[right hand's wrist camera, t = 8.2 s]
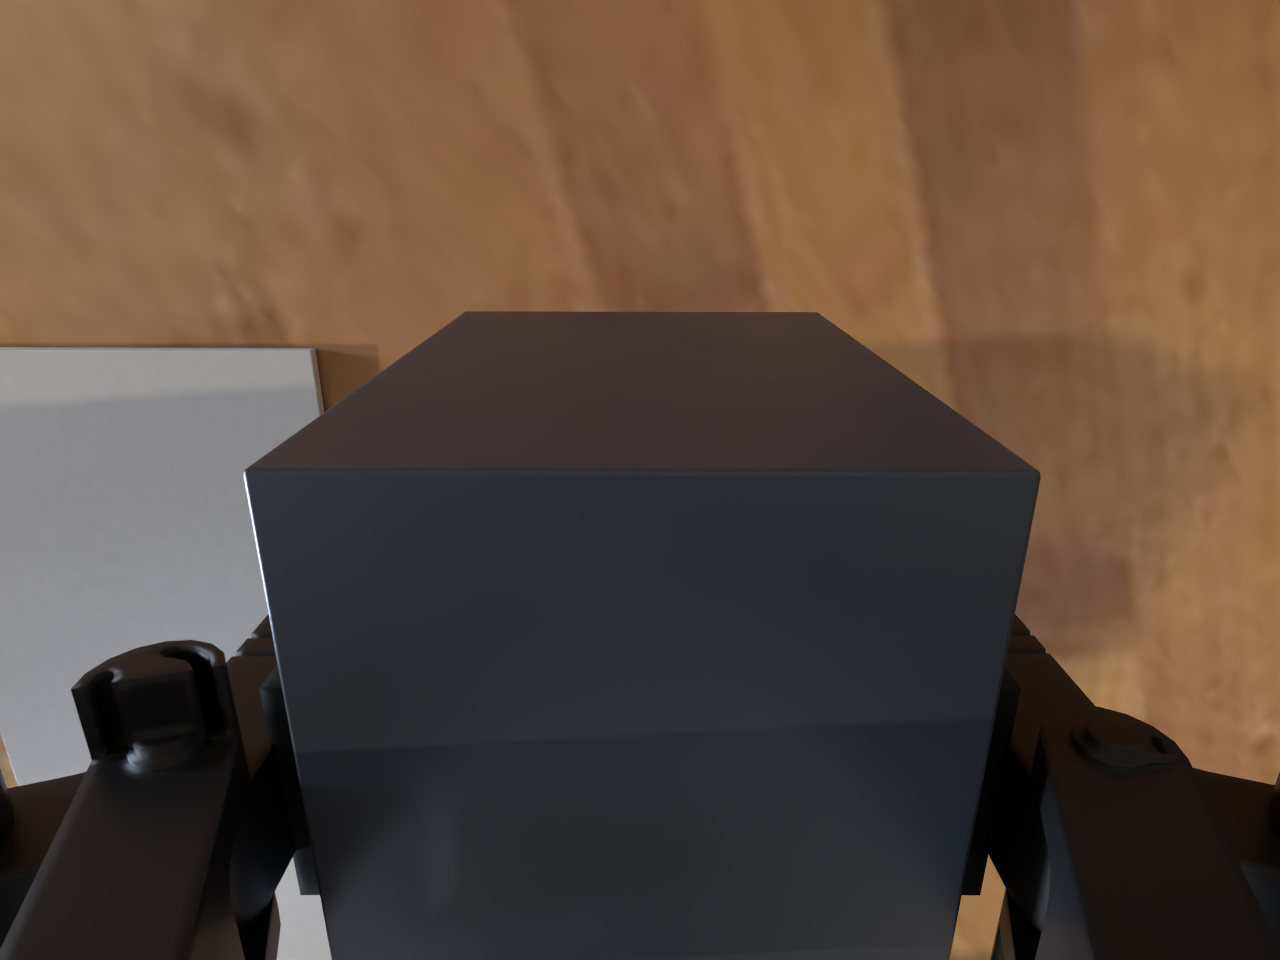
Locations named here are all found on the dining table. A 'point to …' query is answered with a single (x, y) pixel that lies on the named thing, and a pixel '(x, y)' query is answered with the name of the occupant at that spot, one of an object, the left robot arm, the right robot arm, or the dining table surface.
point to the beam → (641, 641)
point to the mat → (133, 531)
